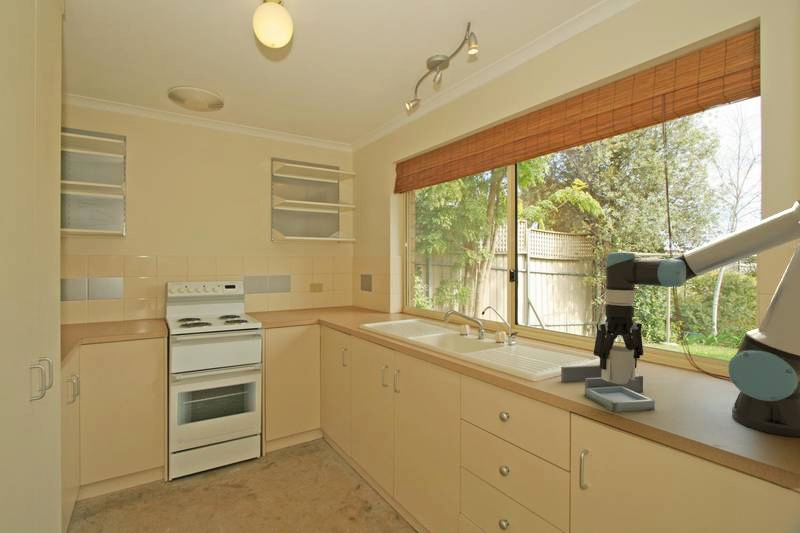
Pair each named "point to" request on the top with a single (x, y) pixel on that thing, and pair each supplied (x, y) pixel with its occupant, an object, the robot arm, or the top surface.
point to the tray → (619, 399)
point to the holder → (596, 377)
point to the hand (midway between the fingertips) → (617, 379)
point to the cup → (620, 364)
